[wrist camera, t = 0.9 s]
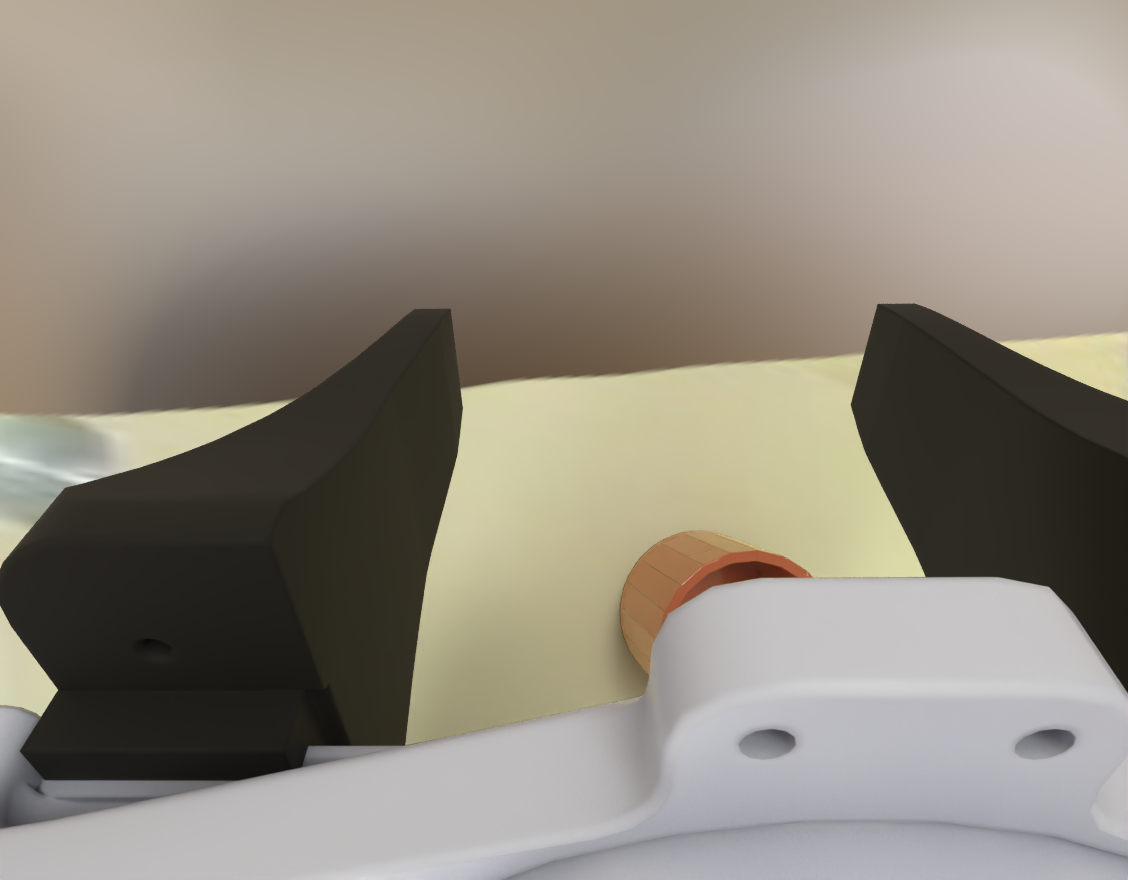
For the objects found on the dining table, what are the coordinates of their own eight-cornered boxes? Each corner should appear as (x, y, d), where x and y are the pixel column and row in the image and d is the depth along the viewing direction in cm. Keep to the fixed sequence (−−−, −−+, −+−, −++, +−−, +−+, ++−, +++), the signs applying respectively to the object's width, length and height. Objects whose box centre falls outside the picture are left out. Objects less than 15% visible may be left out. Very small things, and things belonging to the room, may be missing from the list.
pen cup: (774, 677, 41) (841, 727, 34) (624, 696, 40) (663, 752, 33) (765, 524, 41) (831, 543, 34) (615, 537, 39) (652, 560, 33)
